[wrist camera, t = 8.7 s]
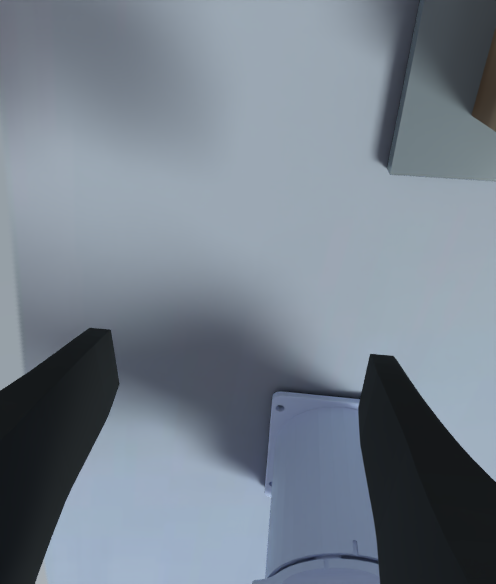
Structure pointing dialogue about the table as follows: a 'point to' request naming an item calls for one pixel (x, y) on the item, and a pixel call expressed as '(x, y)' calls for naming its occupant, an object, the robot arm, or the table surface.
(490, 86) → the walnut cube
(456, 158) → the slate coaster
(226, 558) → the table surface
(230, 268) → the table surface
